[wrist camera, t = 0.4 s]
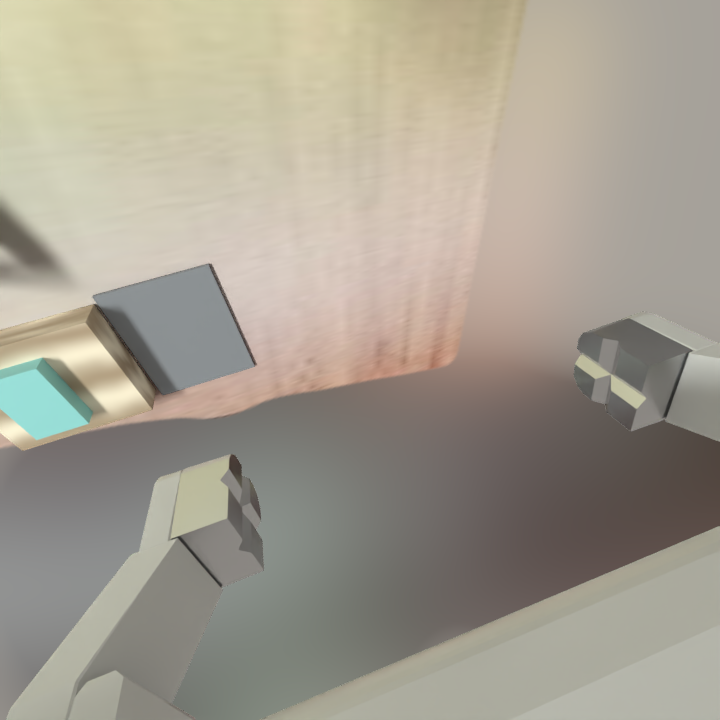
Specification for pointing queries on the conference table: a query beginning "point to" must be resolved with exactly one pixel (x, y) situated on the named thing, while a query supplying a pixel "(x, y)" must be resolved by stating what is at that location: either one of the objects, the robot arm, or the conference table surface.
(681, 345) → the robot arm
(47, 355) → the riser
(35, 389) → the turquoise rectangular block
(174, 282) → the mat
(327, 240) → the conference table surface
